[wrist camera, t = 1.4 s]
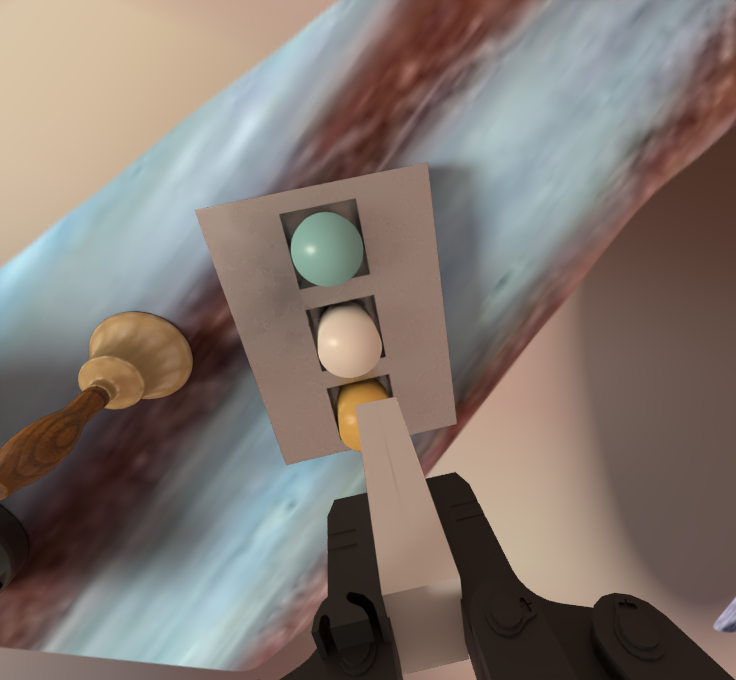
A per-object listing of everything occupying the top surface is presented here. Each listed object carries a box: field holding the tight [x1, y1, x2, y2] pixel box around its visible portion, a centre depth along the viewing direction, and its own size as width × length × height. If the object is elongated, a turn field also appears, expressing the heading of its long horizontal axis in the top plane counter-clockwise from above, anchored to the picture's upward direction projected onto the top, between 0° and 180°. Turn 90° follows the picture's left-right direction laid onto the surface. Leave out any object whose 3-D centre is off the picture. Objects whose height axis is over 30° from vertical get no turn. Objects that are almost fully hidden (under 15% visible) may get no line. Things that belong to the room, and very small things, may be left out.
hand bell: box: [0, 312, 193, 501], centre depth 24 cm, size 8×8×16 cm
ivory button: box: [318, 301, 382, 378], centre depth 27 cm, size 5×5×4 cm
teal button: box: [291, 211, 363, 287], centre depth 25 cm, size 5×5×4 cm
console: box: [195, 162, 457, 465], centre depth 30 cm, size 16×22×4 cm
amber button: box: [337, 378, 389, 452], centre depth 30 cm, size 5×5×4 cm
